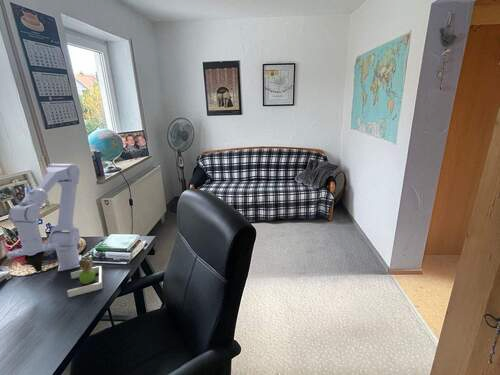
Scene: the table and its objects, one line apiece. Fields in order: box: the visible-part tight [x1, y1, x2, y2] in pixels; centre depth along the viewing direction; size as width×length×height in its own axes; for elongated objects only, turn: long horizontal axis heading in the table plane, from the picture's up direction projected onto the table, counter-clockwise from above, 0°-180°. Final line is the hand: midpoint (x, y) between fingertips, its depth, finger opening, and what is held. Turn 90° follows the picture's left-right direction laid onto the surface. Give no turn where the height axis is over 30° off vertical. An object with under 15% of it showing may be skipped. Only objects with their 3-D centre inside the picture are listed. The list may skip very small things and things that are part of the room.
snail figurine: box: [78, 256, 96, 285], centre depth 103 cm, size 5×6×12 cm
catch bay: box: [66, 265, 103, 298], centre depth 104 cm, size 13×11×2 cm
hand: (39, 270), depth 98 cm, fingers closed
